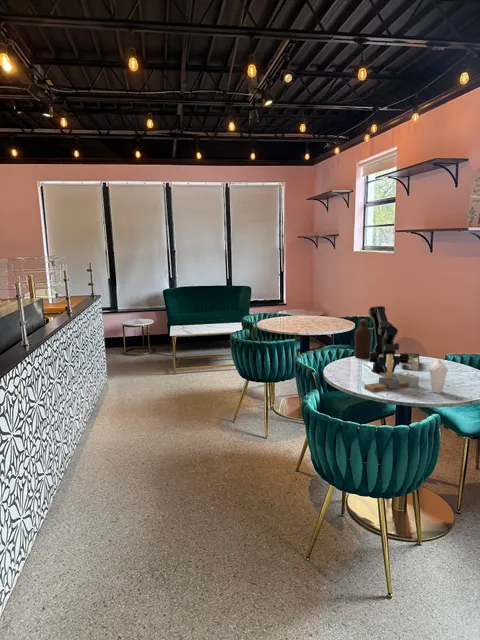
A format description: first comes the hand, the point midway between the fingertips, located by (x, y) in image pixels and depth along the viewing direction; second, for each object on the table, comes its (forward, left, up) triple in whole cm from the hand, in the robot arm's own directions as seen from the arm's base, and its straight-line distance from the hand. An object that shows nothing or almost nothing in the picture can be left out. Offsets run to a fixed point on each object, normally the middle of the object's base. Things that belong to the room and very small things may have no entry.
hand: (389, 372), depth 209 cm
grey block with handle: (-1, -1, -8) cm, 8 cm away
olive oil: (-27, -58, -8) cm, 65 cm away
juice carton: (-40, -29, -9) cm, 50 cm away
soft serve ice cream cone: (-17, +14, -8) cm, 23 cm away
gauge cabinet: (-12, -1, -8) cm, 15 cm away
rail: (+1, -1, -8) cm, 8 cm away
